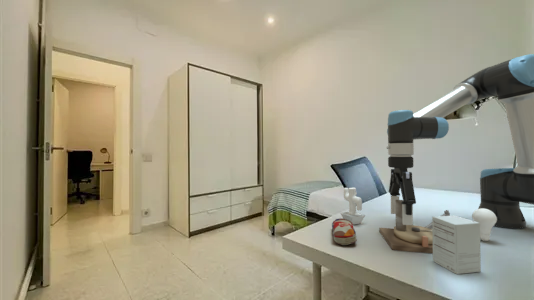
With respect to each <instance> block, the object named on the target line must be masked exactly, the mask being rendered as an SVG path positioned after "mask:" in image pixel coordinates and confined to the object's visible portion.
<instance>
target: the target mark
mask: <svg viewBox="0 0 534 300" xmlns="http://www.w3.org/2000/svg"><path fill="white" fill-rule="evenodd" d="M422 246H423V247H428V237H427V236H422Z"/></svg>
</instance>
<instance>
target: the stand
mask: <svg viewBox="0 0 534 300" xmlns="http://www.w3.org/2000/svg"><path fill="white" fill-rule="evenodd" d="M378 231H379V233H380V234H381V236H382V237H383V239H384V240H385V242H386V243H387V244H388V246H389V248H391V250H392V251H400V252H409V253H410V252H412V253H423V254H433V244H428V247H423V246H422V244H417V243H412V242H408V241H405V240H402V239H399V238H398V237H396V236H395V235H394V227H393V228H391V227H388V228H387V227H379V228H378Z"/></svg>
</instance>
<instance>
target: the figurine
mask: <svg viewBox="0 0 534 300" xmlns="http://www.w3.org/2000/svg"><path fill="white" fill-rule="evenodd" d="M357 193H358V192H357V188H356V187H349V188H348V187H344V188H343V198H344V200H345V201H347V202H348V211H347V212H340V215H341V217H342V219H347V220H349V221H351V222H352V224H353V226H354V225H360V224H361V223H362V222H363V220H364V218H365V217H366V215H365V214H363V213H359V212H357V211H362V209H363V200H362V198H361V197H360V196H357Z"/></svg>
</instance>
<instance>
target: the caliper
mask: <svg viewBox="0 0 534 300" xmlns="http://www.w3.org/2000/svg"><path fill="white" fill-rule="evenodd" d="M440 216H451V213H450V212H449V209H445V210H444V213H443V214H441V215H440ZM424 227H426V228H429V229H432V222H430V223H429V224H427V225H425V226H424Z"/></svg>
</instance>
